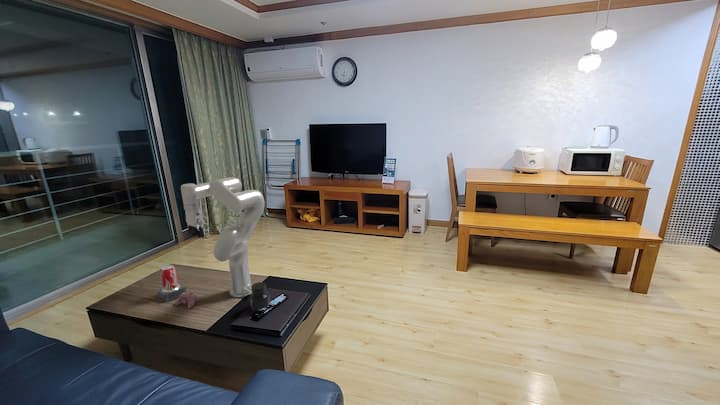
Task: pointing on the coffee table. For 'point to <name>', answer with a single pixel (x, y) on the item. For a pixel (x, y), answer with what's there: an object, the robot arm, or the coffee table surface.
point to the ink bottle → (259, 296)
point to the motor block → (171, 292)
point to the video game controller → (186, 299)
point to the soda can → (169, 277)
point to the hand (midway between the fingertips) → (196, 235)
